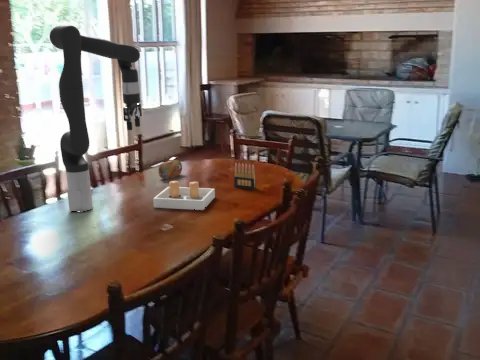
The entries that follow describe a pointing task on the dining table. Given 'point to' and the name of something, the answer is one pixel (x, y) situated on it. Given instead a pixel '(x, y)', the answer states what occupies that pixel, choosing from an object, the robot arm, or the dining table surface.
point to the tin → (170, 169)
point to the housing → (185, 198)
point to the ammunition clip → (244, 176)
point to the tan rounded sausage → (174, 189)
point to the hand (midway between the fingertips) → (133, 128)
